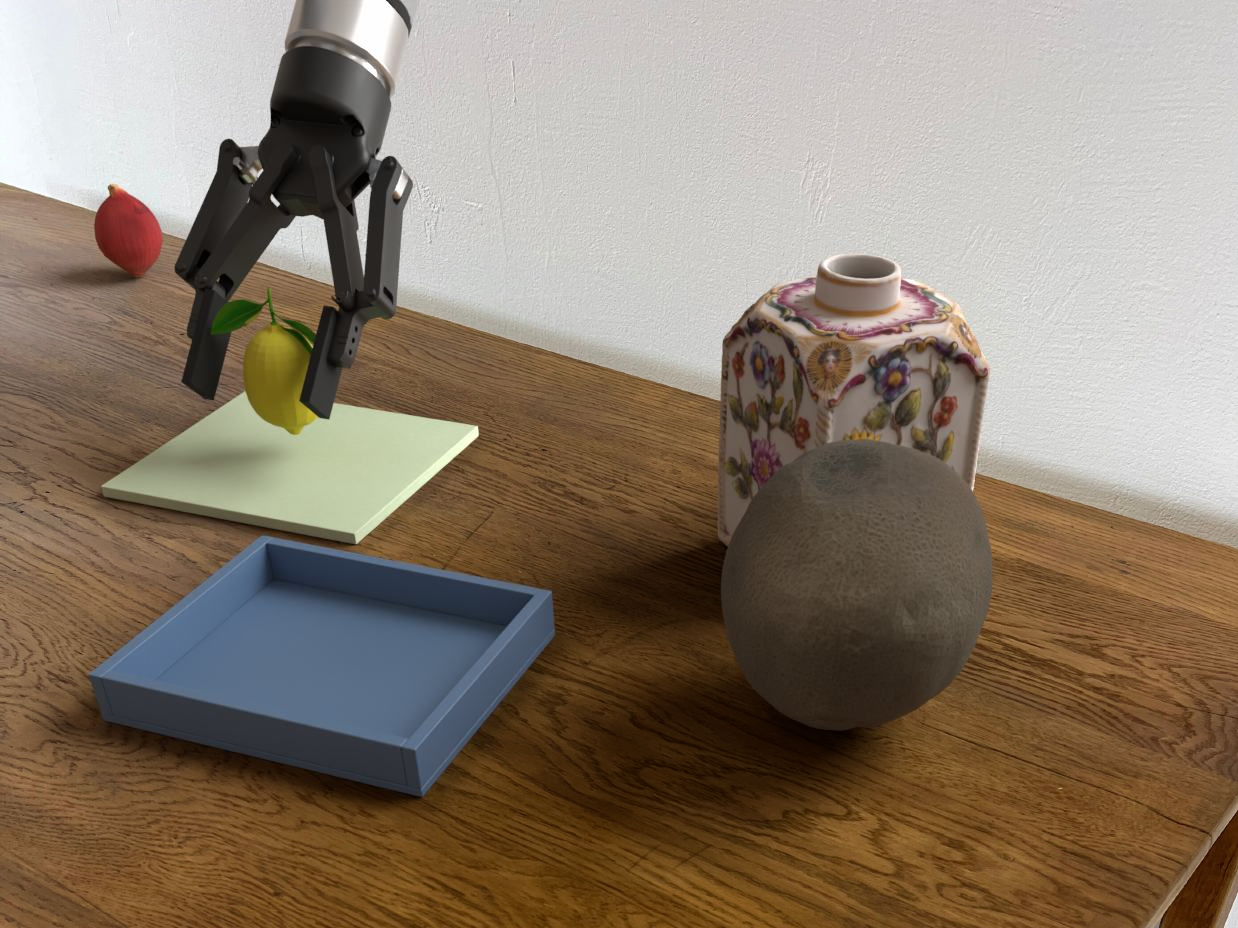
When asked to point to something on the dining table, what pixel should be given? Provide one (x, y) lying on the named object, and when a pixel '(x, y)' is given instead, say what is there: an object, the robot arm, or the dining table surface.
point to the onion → (127, 232)
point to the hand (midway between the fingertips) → (255, 400)
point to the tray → (330, 662)
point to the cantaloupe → (857, 583)
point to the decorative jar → (845, 375)
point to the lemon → (272, 363)
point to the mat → (295, 469)
